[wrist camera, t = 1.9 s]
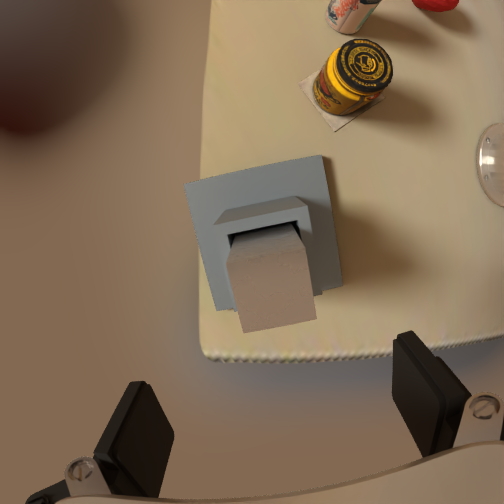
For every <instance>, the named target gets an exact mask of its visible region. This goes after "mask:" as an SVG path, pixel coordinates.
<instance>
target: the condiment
mask: <svg viewBox="0 0 504 504" xmlns="http://www.w3.org/2000/svg"><path fill="white" fill-rule="evenodd" d="M392 76H393V66H392V61H391V59H390V57H389V55H388V54H387V53H386V51H385V50H384V49H383V48H382V47H381V46H380V45H378V44H377V43H375V42H372V41H370V40H368V39H353V40H350V41H348V42H347V43H345V44H343V46H341V47H340V48H338V49H336V50H335V51H334V52H333V53H332V54H331V56H330V57H329V58H328V60H327V61H326V63H325V65H324V66H323V68H321V69H320V70H318V71H316V72H315V73H313V74H312V75H310V76H308V77H307V78H305V79H304V80H302V81H300V82H299V83H297V84H298V85H299V87H300V88H301V89H302V90H303V92H304V93H305V94H306V95H307V97H308V98H309V99H310V101H311V102H312V103H313V104H314V106H315V107H316V108H317V110H318V111H319V112H320V114H321V115H322V116H323V117H324V119H325V120H326V121H327V123H328V124H329V125H330V127H331V128H332V129H333V131H334V132H335V131H336V130H338V129H339V128H340V127H342V126H343V125H345V124H346V123H348V122H349V121H351V120H352V119H354V118H355V117H357V116H358V115H360V114H361V113H363V112H364V111H366V110H367V109H369V108H370V107H372V106H373V105H375V104H376V103H378V102H380V101H381V100H383V99H384V98H385V96H384V95H383V94H382V92H383V90H384V88H385V87H387V86H388V84H389V83H390V82H391V79H392Z"/></svg>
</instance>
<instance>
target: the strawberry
mask: <svg viewBox="0 0 504 504" xmlns="http://www.w3.org/2000/svg"><path fill="white" fill-rule="evenodd" d="M412 2H413V3H414V5H415V6H416V7H418V8H422V9H425V10H430V11H435V12H443V11H448V10H452V9H454V8H455V7H456V6H457V4H458V3H459V0H412Z"/></svg>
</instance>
